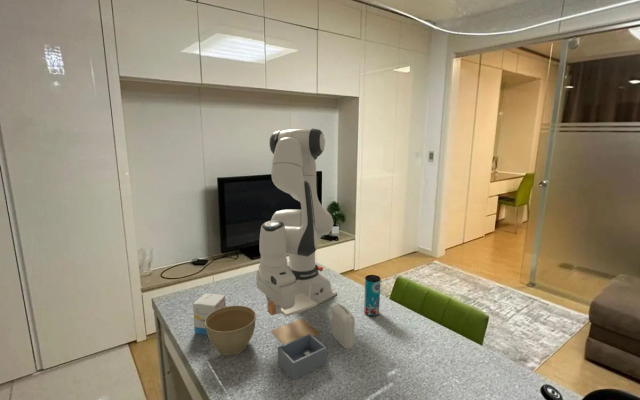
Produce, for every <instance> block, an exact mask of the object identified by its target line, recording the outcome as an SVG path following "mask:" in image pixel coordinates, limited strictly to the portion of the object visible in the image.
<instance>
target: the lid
mask: <svg viewBox="0 0 640 400" xmlns="http://www.w3.org/2000/svg"><path fill="white" fill-rule="evenodd" d="M266 305H267V313H268V314H269V315H270V316H274V315H277V314H276V313H275V312H274V308H275V307H276V304H275V302H274V301H273V302H270V303H268V302H267V304H266ZM314 307H318V305H317V303H316V302H315V301H313V300H312V299H310V298H309V297H307V296H306V295H304V294H303V293H301V294H298V295H295V304H294V306H293V307H292V308H289V309H286V310H284V309H283V308H281V313H280V314H282V315H283V316H284V317H289V316H291V315H296V314H298V313H301V312H303V311H307V310H309V309H312V308H314Z"/></svg>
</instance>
